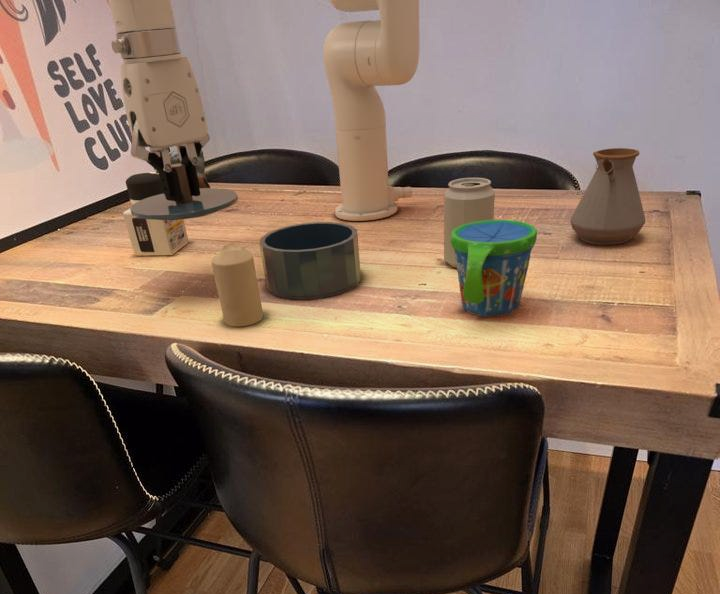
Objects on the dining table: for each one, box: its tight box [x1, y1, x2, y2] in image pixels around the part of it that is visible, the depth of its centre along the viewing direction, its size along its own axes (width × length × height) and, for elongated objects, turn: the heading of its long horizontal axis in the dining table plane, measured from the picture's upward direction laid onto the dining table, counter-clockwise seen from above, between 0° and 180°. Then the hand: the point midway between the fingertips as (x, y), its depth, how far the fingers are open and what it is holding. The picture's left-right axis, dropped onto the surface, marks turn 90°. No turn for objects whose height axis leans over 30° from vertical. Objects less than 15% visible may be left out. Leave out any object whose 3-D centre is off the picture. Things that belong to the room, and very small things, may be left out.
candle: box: [210, 242, 264, 327], centre depth 87 cm, size 6×6×10 cm
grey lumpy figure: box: [155, 149, 211, 188], centre depth 144 cm, size 15×12×14 cm
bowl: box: [258, 221, 362, 301], centre depth 98 cm, size 15×15×7 cm
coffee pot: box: [570, 147, 646, 246], centre depth 99 cm, size 21×12×15 cm, turn 156°
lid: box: [129, 163, 239, 220], centre depth 94 cm, size 16×16×6 cm
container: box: [122, 171, 189, 257], centre depth 117 cm, size 8×8×13 cm
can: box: [443, 177, 496, 269], centre depth 99 cm, size 8×8×12 cm
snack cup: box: [450, 219, 538, 318], centre depth 84 cm, size 16×10×10 cm
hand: (183, 196), depth 95 cm, fingers closed on lid, 2 cm apart
